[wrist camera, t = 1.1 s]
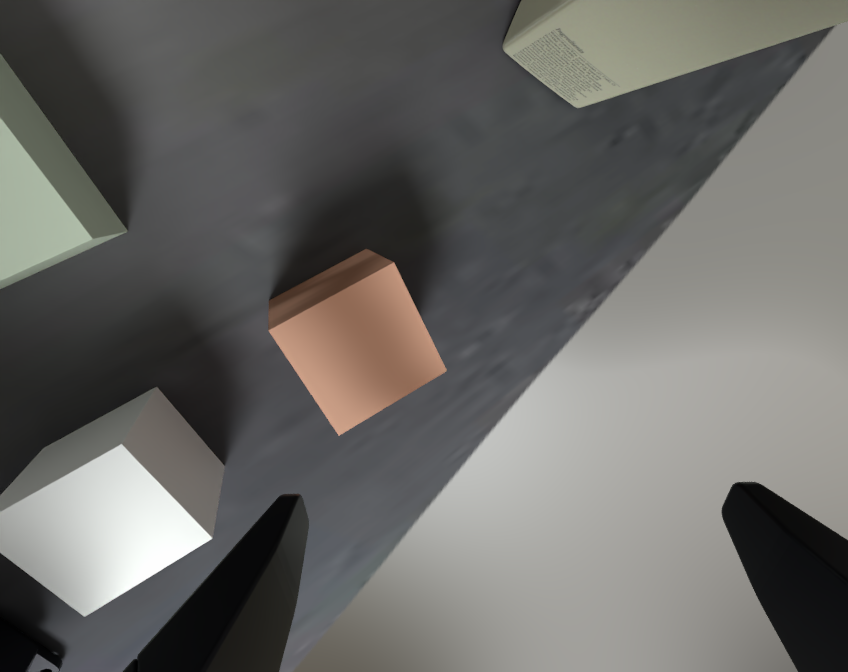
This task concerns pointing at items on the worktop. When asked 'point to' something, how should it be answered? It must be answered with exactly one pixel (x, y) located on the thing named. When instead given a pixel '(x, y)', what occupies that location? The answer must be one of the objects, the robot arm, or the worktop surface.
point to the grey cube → (112, 503)
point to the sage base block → (42, 191)
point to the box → (649, 38)
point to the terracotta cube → (355, 338)
